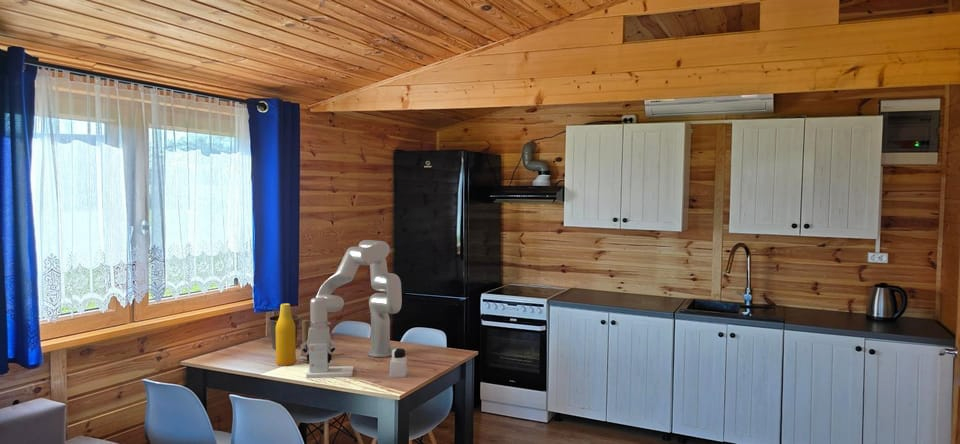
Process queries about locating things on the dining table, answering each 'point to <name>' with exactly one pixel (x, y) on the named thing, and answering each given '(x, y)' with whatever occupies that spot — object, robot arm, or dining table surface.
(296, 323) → the plant pot
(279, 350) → the beer bottle
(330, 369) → the board
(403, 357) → the medicine bottle
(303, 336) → the wooden block
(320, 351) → the small box
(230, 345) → the dining table surface
